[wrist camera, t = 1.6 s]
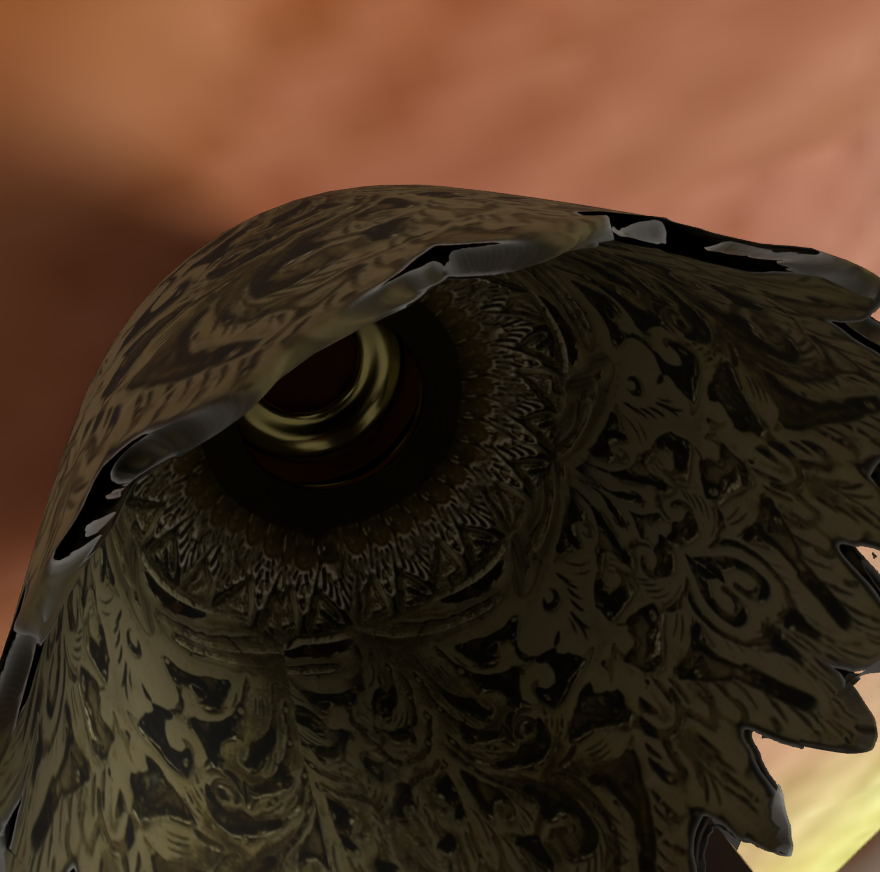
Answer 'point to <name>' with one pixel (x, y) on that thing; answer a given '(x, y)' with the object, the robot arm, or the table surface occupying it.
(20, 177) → the table surface
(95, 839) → the ornate bronze bell
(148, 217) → the table surface
